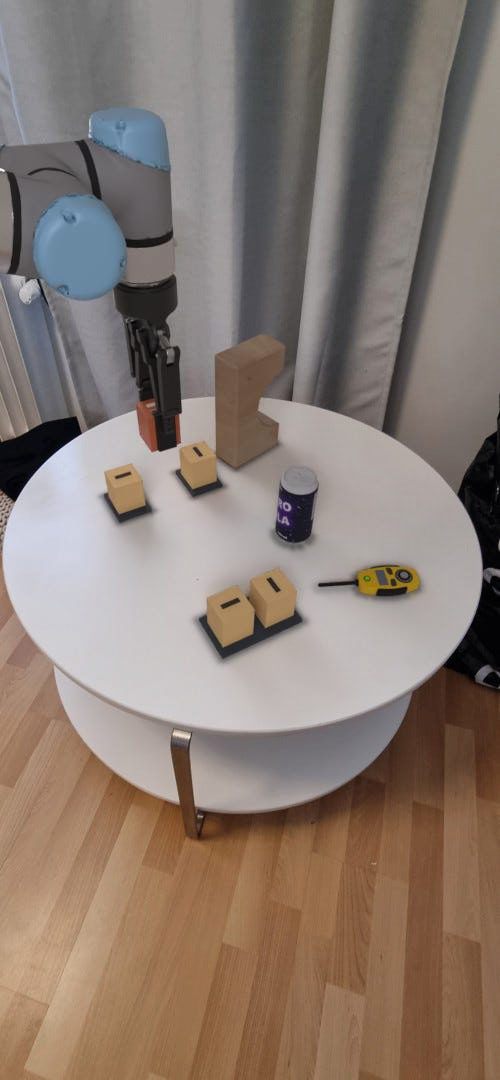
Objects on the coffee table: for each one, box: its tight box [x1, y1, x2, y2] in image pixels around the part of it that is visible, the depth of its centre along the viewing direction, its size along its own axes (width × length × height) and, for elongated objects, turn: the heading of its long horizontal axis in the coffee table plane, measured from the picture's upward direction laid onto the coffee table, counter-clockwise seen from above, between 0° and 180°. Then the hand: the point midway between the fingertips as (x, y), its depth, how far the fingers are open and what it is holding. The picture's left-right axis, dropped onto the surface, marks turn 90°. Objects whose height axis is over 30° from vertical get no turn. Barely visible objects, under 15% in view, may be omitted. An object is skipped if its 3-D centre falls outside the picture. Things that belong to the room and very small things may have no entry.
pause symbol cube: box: [135, 398, 182, 453], centre depth 83 cm, size 5×5×6 cm
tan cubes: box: [103, 440, 224, 523], centre depth 96 cm, size 19×7×6 cm, turn 120°
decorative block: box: [214, 332, 286, 469], centre depth 100 cm, size 11×6×20 cm, turn 133°
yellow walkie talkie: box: [317, 564, 421, 597], centre depth 85 cm, size 5×2×15 cm
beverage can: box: [275, 464, 320, 544], centre depth 88 cm, size 6×6×12 cm
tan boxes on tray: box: [198, 567, 303, 660], centre depth 79 cm, size 12×7×6 cm, turn 120°
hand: (159, 437), depth 85 cm, fingers closed on pause symbol cube, 5 cm apart
